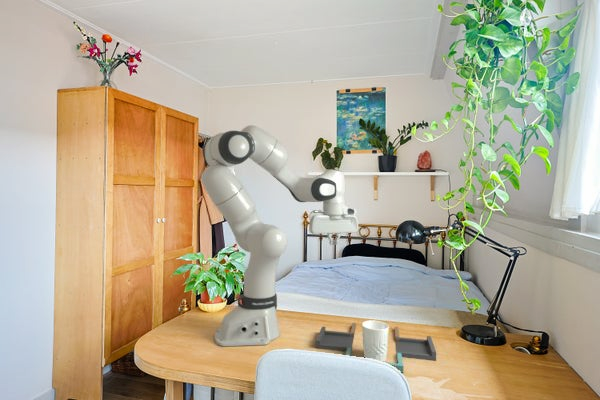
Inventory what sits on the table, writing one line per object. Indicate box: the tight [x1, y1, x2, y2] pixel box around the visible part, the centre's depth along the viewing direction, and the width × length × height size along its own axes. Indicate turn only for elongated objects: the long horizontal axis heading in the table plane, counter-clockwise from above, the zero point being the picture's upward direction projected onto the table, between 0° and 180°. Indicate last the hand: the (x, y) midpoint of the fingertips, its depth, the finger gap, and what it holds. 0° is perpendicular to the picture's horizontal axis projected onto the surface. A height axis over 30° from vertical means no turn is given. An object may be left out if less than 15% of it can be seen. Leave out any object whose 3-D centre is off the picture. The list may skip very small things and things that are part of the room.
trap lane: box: [315, 322, 437, 374], centre depth 118 cm, size 32×36×2 cm
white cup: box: [361, 319, 390, 362], centre depth 109 cm, size 8×8×10 cm
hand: (333, 244), depth 145 cm, fingers closed
